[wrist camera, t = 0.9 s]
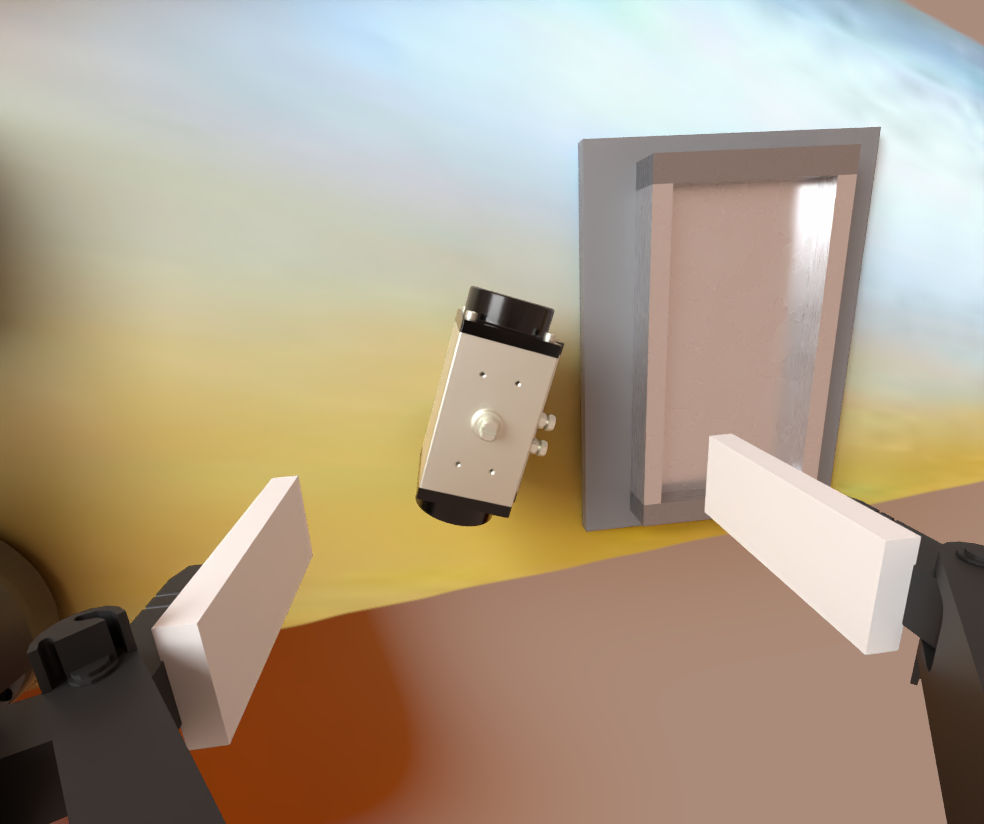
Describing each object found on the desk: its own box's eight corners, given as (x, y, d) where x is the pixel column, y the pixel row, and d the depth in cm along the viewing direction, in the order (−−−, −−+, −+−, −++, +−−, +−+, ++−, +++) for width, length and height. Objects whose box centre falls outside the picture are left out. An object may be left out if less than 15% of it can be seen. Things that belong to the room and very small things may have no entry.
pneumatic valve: (417, 449, 34) (407, 536, 23) (460, 281, 32) (473, 286, 20) (493, 466, 35) (520, 559, 24) (541, 305, 33) (597, 322, 21)
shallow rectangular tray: (629, 509, 36) (643, 526, 34) (636, 162, 30) (653, 153, 27) (789, 492, 37) (813, 508, 35) (828, 154, 31) (861, 143, 28)
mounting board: (582, 524, 37) (586, 531, 36) (578, 143, 30) (582, 139, 29) (818, 499, 39) (827, 505, 38) (867, 131, 32) (880, 126, 31)
